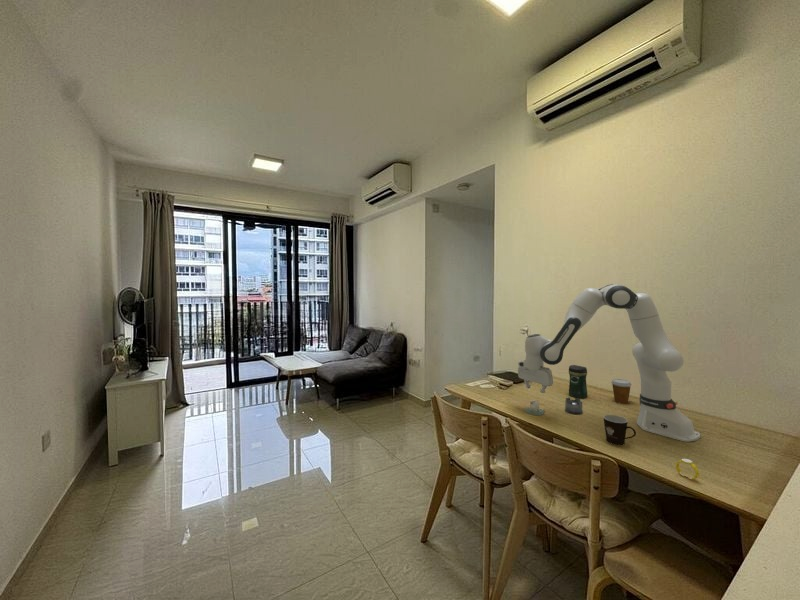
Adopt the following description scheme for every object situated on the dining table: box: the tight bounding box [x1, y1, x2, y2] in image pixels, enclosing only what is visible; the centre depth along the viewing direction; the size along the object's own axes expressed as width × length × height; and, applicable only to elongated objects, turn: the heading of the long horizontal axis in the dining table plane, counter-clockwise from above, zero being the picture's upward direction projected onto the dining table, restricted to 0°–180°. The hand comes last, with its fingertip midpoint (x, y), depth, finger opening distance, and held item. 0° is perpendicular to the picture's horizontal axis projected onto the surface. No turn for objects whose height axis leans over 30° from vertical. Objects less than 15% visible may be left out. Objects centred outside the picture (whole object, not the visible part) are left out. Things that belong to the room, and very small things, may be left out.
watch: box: [675, 458, 700, 480], centre depth 110 cm, size 6×3×6 cm, turn 24°
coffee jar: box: [568, 364, 588, 399], centre depth 192 cm, size 10×8×19 cm
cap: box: [529, 399, 540, 412], centre depth 170 cm, size 5×4×5 cm
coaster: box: [524, 407, 546, 416], centre depth 170 cm, size 10×10×1 cm
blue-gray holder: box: [564, 397, 583, 415], centre depth 169 cm, size 8×8×6 cm
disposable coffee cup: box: [611, 378, 632, 405], centre depth 181 cm, size 10×10×12 cm
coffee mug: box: [602, 414, 637, 446], centre depth 134 cm, size 12×9×10 cm
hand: (535, 390), depth 170 cm, fingers open, 8 cm apart
